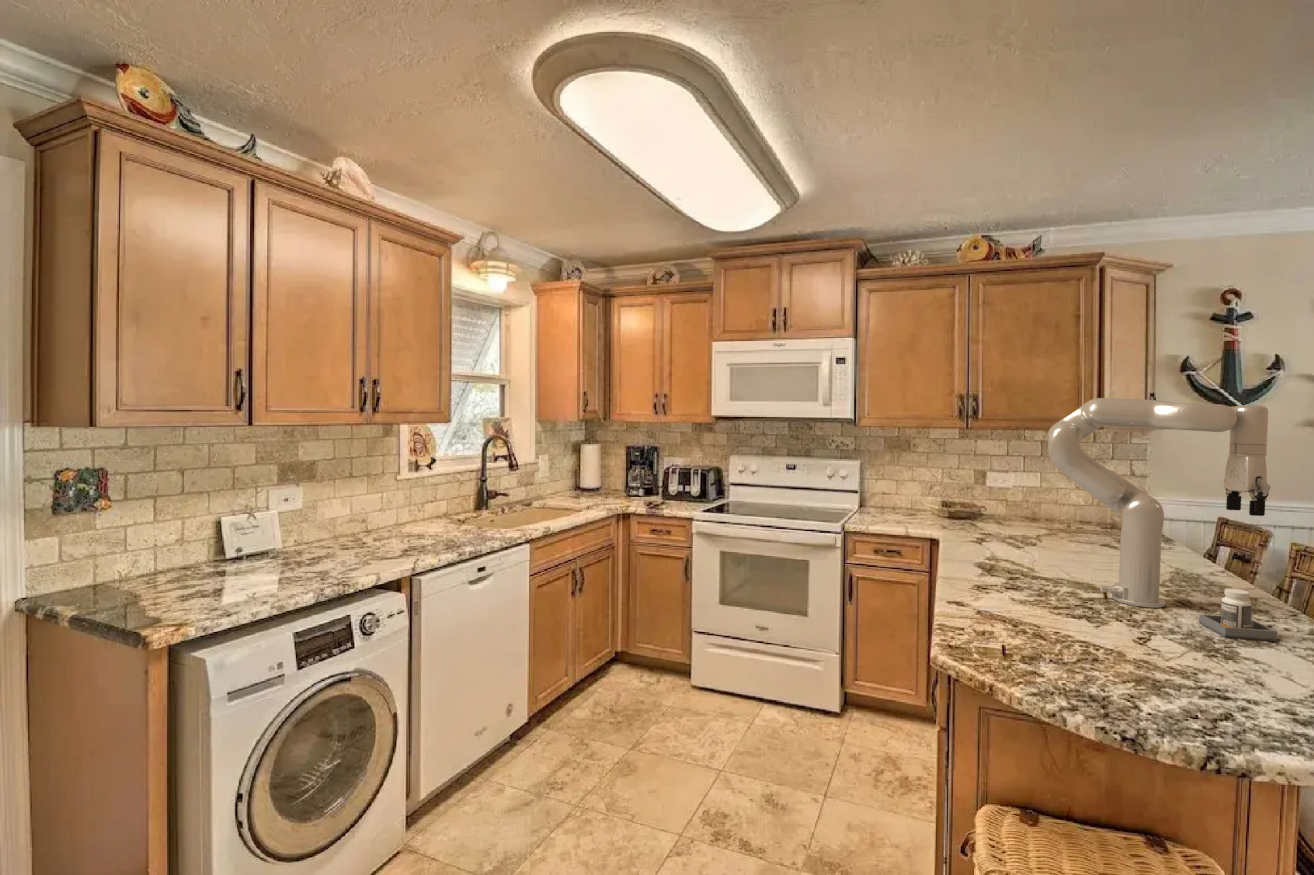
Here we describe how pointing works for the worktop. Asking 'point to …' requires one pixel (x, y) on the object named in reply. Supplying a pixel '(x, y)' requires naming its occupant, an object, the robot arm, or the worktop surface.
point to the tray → (1238, 629)
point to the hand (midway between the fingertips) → (1244, 512)
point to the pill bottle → (1236, 609)
